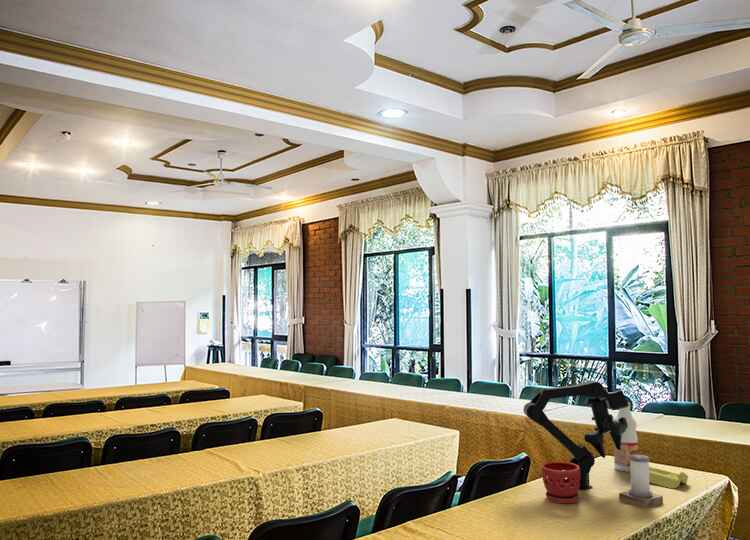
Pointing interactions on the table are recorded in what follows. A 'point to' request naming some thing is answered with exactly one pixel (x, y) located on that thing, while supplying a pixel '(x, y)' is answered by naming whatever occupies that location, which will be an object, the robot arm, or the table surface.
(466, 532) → the table surface
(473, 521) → the table surface
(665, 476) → the plastic component
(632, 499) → the stand
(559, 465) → the plant pot
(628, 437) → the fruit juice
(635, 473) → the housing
